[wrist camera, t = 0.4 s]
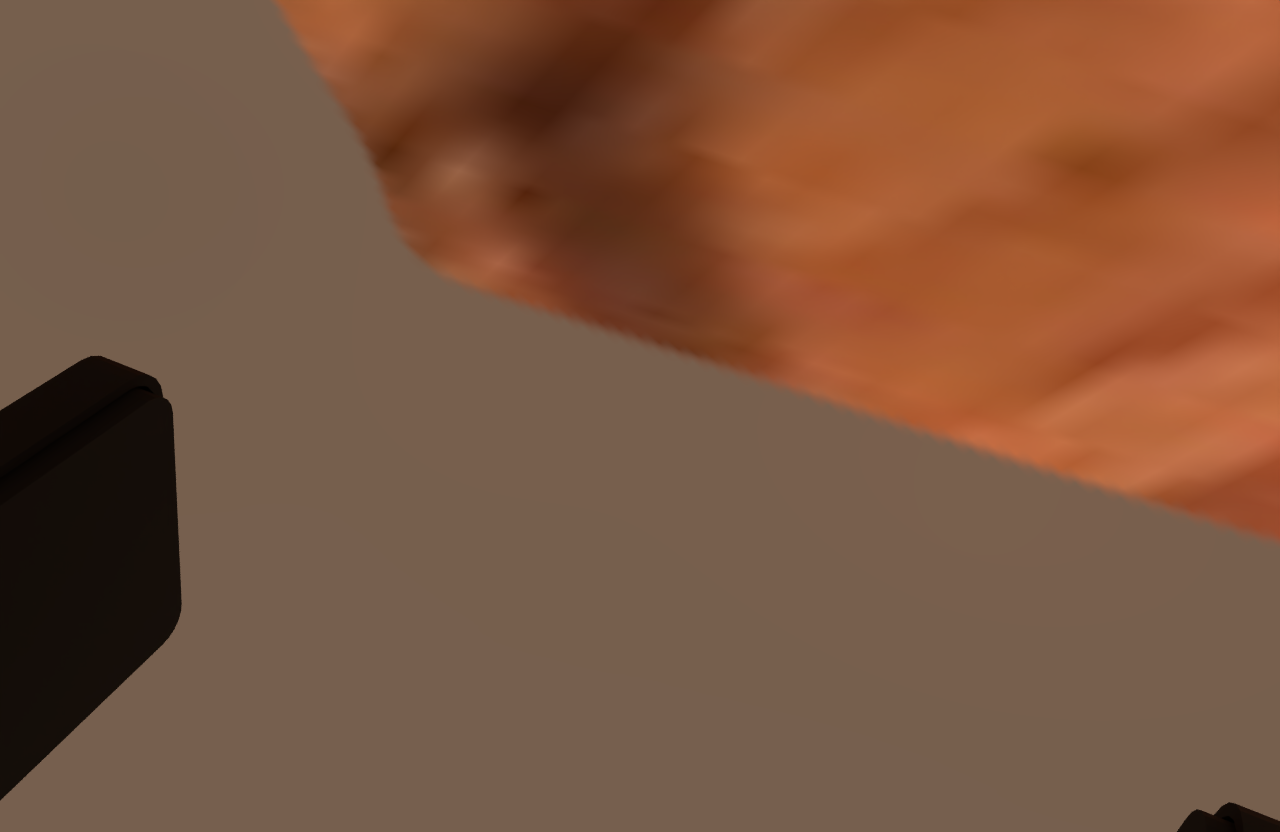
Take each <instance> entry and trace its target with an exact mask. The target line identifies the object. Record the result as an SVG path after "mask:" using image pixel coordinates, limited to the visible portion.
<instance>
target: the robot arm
mask: <svg viewBox="0 0 1280 832" xmlns="http://www.w3.org/2000/svg"><path fill="white" fill-rule="evenodd" d="M174 451H175V449H174V428H173V411H172V406H171V404H170V403H169V401H168V400H167V399H165V398H163V394H162V389H161V385H160V384H159V383H158V381H157V380H156V378H154V377H152V376H150V375H147V374H145V373H143V372H140V371H137V370H135V369H132V368H130V367H127V366H125V365H122V364H120V363H117V362H115V361H112V360H110V359H107V358H105V357H102V356H90V357H88V358H86V359H83V360H81V361H79V362H78V363H76V364H74V365H73V366H71V367H70V368H68V369H66V370H65V371H63V372H61V373H60V374H58V375H57V376H55V377H54V378H52V379H50V380H49V381H47V382H45V383H44V384H42V385H41V386H39V387H37V388H36V389H34V390H33V391H31V392H29V393H28V394H26V395H24V396H23V397H21V398H20V399H18V400H16V401H15V402H13V403H12V404H10V405H9V406H7V407H5V408H4V409H2V410H1V411H0V800H1V799H2V798H3V797H4V796H5V795H6V794H7V793H8V792H9V791H11V790H12V789H13V788H14V787H15V786H16V785H17V784H18V783H19V782H20V781H21V780H22V779H23V778H24V777H25V776H26V775H27V774H28V773H29V772H30V771H31V770H32V769H33V768H35V766H37V765H38V764H39V763H40V762H41V761H42V760H43V759H44V758H45V757H46V756H47V755H48V754H49V753H50V752H51V751H52V750H53V749H54V748H55V747H56V746H57V745H58V744H60V743H61V742H62V741H63V740H64V739H65V738H66V737H67V736H68V735H69V734H70V733H71V732H72V731H73V730H74V729H75V728H76V727H77V726H78V725H79V724H80V723H81V722H82V721H83V720H85V719H86V717H88V716H89V715H90V714H91V713H92V712H93V711H94V710H95V709H96V708H97V707H98V706H99V705H100V704H101V703H102V702H103V701H104V700H105V699H106V698H107V697H108V696H109V695H111V694H112V693H113V692H114V691H115V690H116V689H117V688H118V687H119V686H120V685H121V684H122V683H123V682H124V681H125V680H126V679H127V678H128V677H129V676H130V675H131V674H132V673H133V672H134V671H135V670H136V669H138V668H139V667H140V666H141V665H142V664H143V663H144V662H145V661H146V660H147V659H148V658H149V657H150V656H151V655H152V654H153V653H154V652H155V651H156V650H157V649H158V648H159V647H160V646H162V645H163V644H164V642H165V641H166V640H167V639H168V638H169V636H170V635H171V633H172V632H173V630H174V629H175V626H176V624H177V622H178V620H179V616H180V613H181V604H182V603H181V580H180V558H179V537H178V518H177V517H178V516H177V493H176V472H175V452H174ZM1177 832H1280V821H1278V820H1275V819H1273V818H1270V817H1268V816H1265V815H1263V814H1260V813H1258V812H1255V811H1252V810H1250V809H1247V808H1245V807H1242V806H1240V805H1237V804H1234V803H1230V802H1229V803H1227V804H1225V805H1223V806H1222V807H1221V808H1220V809H1219V810H1218V811H1217V812H1216V814H1214V815H1212V814H1209V813H1207V812H1204V811H1202V810H1195V811H1193V812H1192V813H1191V814H1190V815H1189V816H1188V817H1187V818H1186V820H1185V821H1184V823H1183V824H1182V825H1181V827H1180V828H1179V829H1178V831H1177Z"/></svg>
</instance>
